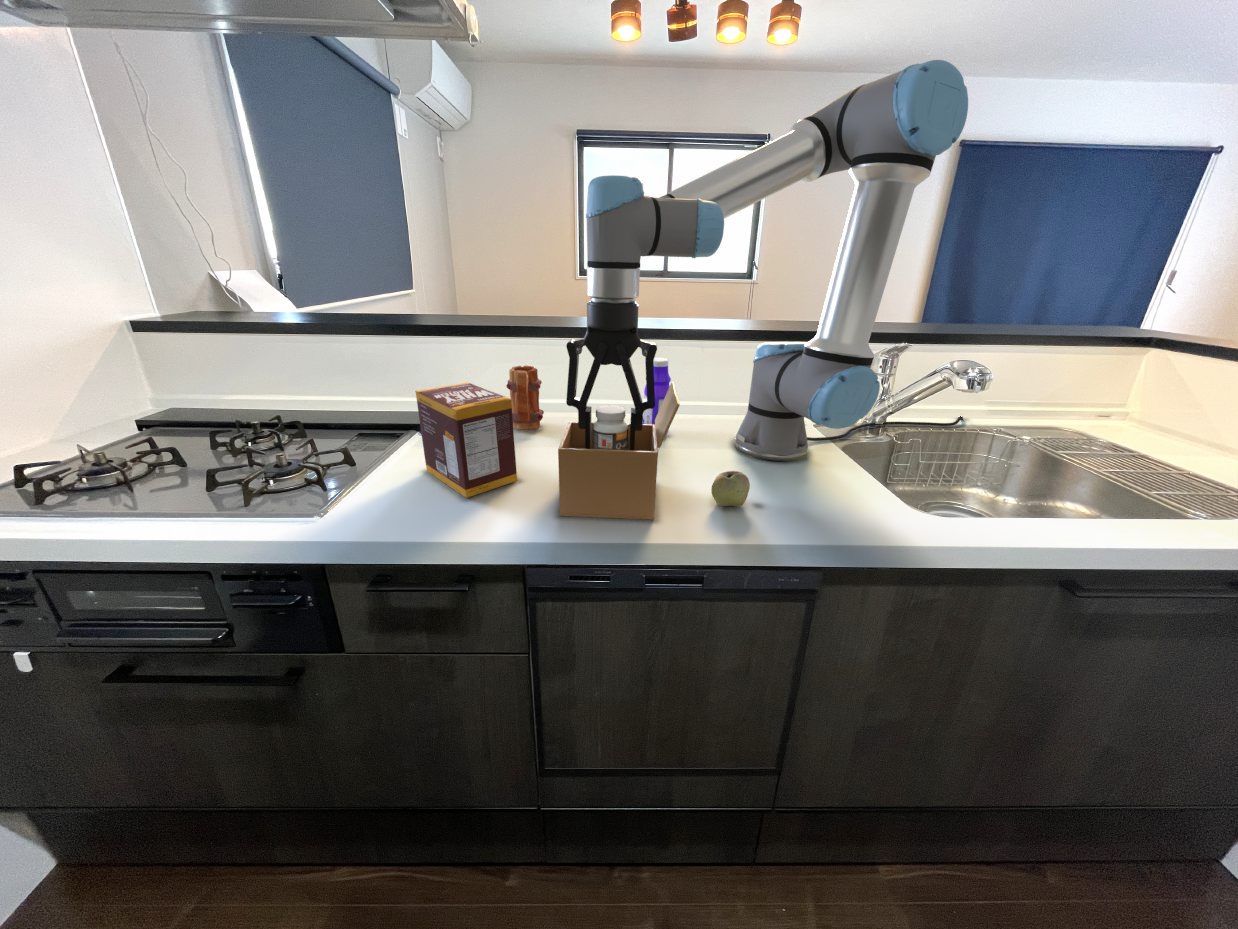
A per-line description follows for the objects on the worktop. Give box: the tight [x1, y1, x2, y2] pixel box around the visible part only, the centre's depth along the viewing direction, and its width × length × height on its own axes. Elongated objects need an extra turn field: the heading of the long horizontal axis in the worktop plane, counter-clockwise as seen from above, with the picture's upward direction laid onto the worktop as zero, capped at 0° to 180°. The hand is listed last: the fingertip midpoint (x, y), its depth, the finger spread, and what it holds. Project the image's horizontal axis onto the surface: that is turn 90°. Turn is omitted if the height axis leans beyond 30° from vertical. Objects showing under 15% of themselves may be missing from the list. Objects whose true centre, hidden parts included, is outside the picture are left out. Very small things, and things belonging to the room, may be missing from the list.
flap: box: [655, 381, 681, 450], centre depth 78 cm, size 7×13×1 cm
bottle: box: [643, 357, 672, 436], centre depth 112 cm, size 7×6×17 cm
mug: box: [505, 364, 545, 431], centre depth 111 cm, size 15×8×15 cm, turn 6°
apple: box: [710, 470, 751, 508], centre depth 82 cm, size 6×8×6 cm
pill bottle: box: [593, 405, 628, 450], centre depth 80 cm, size 6×6×10 cm
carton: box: [557, 421, 659, 520], centre depth 82 cm, size 15×13×12 cm
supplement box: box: [414, 381, 518, 499], centre depth 88 cm, size 10×15×16 cm
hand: (610, 447), depth 80 cm, fingers open, 6 cm apart
